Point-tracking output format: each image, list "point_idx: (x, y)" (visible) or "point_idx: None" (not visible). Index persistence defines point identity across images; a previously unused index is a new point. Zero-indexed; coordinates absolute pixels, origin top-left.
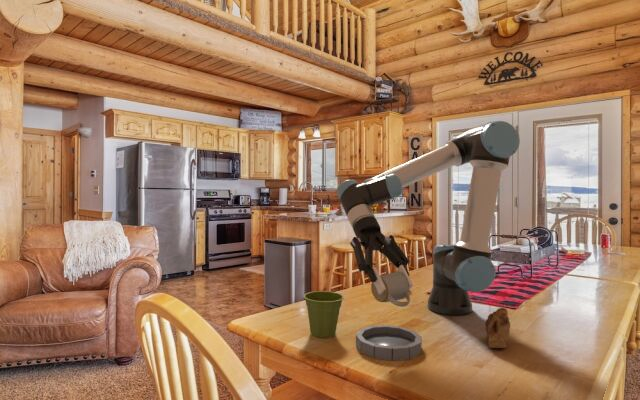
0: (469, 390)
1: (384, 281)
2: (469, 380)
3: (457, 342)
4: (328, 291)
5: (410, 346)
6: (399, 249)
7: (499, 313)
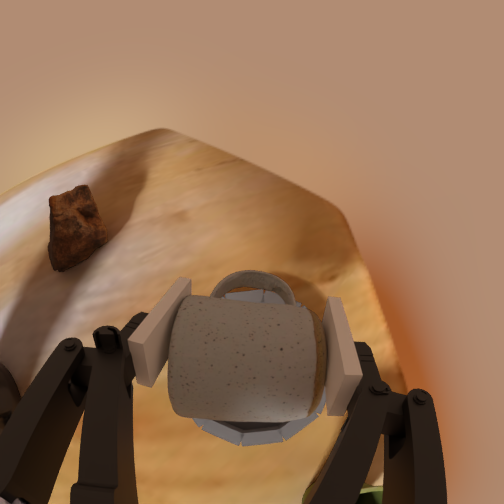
0: (268, 180)
1: (315, 322)
2: (241, 194)
3: (114, 297)
4: None
5: (257, 292)
6: (26, 410)
7: (61, 206)
